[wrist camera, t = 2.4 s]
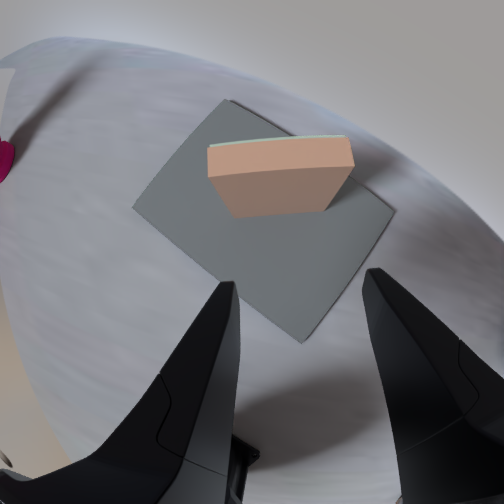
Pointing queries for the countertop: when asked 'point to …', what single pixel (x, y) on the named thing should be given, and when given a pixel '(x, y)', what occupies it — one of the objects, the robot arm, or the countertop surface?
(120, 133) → the countertop surface
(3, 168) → the pepper mill
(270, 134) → the mat
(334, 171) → the tile
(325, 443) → the countertop surface
